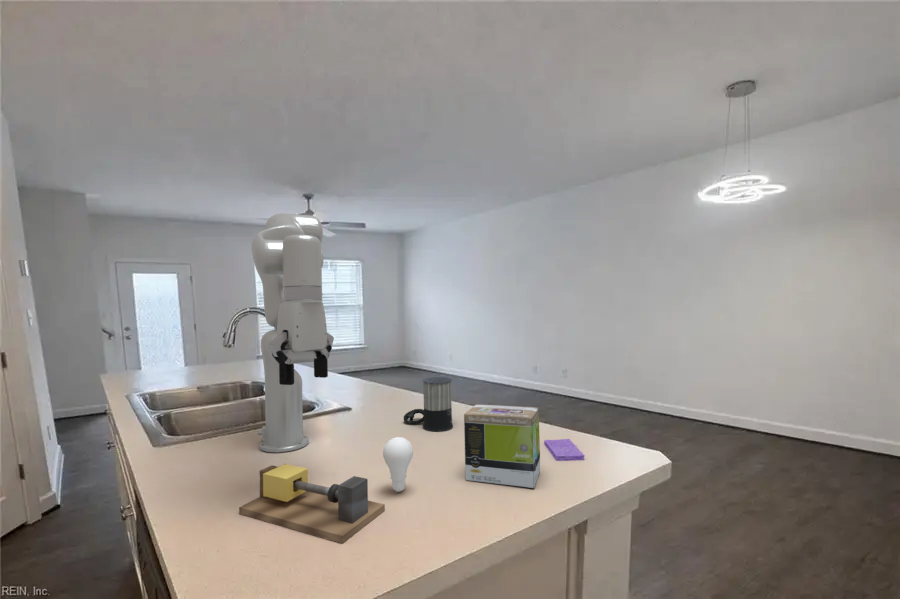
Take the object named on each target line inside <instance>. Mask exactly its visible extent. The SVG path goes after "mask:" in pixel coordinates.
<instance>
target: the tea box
mask: <svg viewBox="0 0 900 599" xmlns="http://www.w3.org/2000/svg"><path fill="white" fill-rule="evenodd" d="M539 412H540V411H539V407H536V406H517V405H501V404H498V405H497V404H480V403H479V404H477V403H476V404H475V405H473V406H472V407H471V408H470V409H468V410H467V411H466V412H465V413H464V414H463V418H464V420H463V426H464V433H463V435H464V465H465V466H464V470H465V471H464V472H465V480H466V481H470V482H471V481H472V482H480V483H487V484H488V483H489V484H496V485H497V484H498V485H505V486H514V487H522V488H530V489H534V488H535V487H536V484H537V480H538V477H539V476H540V471H541V448H540V447H541V445H540V444H541V442H540V415H539V414H540V413H539Z"/></svg>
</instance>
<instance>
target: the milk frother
mask: <svg viewBox="0 0 900 599" xmlns="http://www.w3.org/2000/svg"><path fill="white" fill-rule="evenodd" d="M452 381H453V379H452V378H451V377H448V376H432V377H424V378H423V379H422V383H423V408H414V409H412V410H410V411H409V410H408V412H406V413H405V414H404V416H403V421H404V422H405V423H406V424H409V425H418V424H421V423H423V425H422V428H423V429H424V430H425V431H430V432H443V431H444V432H445V431H449V430H451V429H453V427H454V425H453V418H452V417H453V415H452V413H453V412H452ZM416 414H421V415H422V418H419V419H417V420H414V418H415V415H416Z"/></svg>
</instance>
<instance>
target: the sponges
mask: <svg viewBox="0 0 900 599" xmlns="http://www.w3.org/2000/svg"><path fill="white" fill-rule="evenodd" d="M543 445H544V446H545V447H546V448H547V450H548V452H549V453H550V454H551V455H552V457H553V459H554V460H555V461H556V462H563V461H584V460H585V454H584V453H583V452H582V451H581V450H580V449H579V448H578V447H577V445H576V444H575V443H574V442H573V441H572V440H571V439H570V438H563V439H544V440H543Z"/></svg>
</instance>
